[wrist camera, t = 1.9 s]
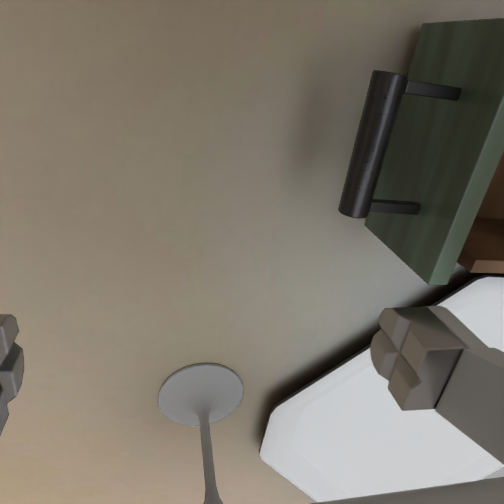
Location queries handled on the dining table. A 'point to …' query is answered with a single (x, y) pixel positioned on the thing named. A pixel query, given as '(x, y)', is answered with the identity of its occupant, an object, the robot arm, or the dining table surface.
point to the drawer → (436, 153)
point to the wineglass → (202, 407)
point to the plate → (379, 422)
